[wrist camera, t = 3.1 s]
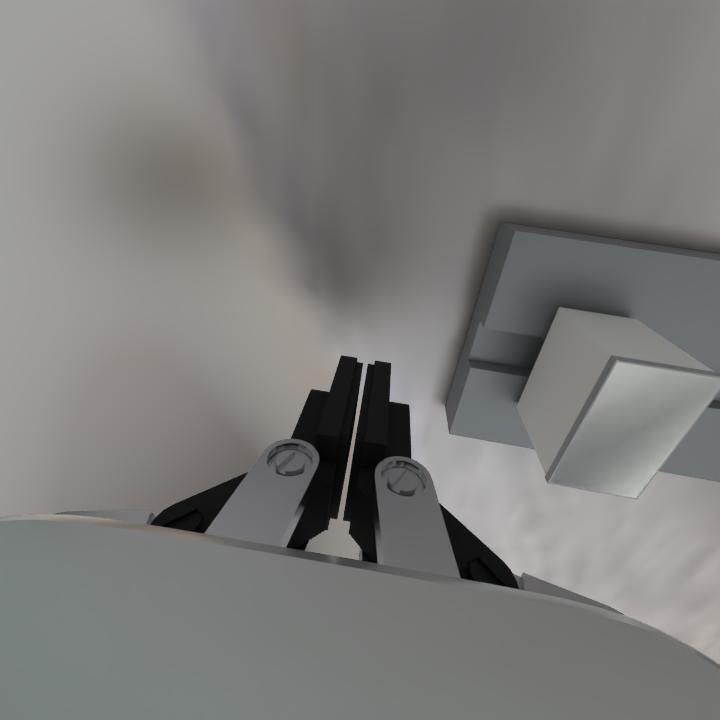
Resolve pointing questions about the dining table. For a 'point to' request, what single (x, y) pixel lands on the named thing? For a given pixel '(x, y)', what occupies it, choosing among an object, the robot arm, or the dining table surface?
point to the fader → (610, 402)
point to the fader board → (586, 293)
